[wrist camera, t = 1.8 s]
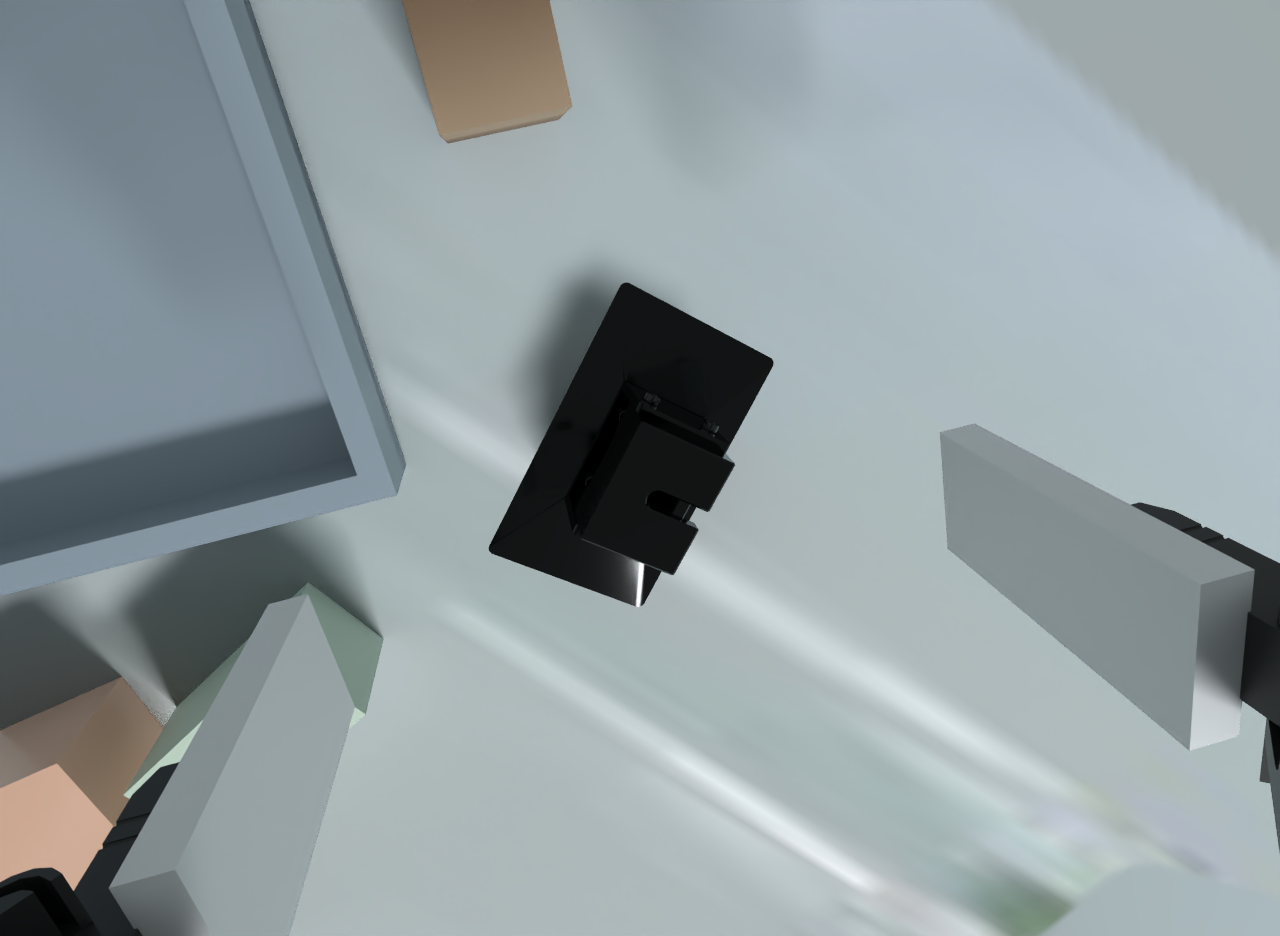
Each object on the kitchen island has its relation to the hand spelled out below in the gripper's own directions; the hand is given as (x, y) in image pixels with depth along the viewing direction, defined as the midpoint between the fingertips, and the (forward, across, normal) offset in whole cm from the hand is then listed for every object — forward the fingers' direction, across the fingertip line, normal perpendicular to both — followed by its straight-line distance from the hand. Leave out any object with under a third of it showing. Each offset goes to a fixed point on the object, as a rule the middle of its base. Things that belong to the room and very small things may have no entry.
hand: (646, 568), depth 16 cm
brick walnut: (+9, -1, +12) cm, 15 cm away
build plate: (+10, +1, -1) cm, 10 cm away
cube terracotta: (+9, -18, -6) cm, 20 cm away
